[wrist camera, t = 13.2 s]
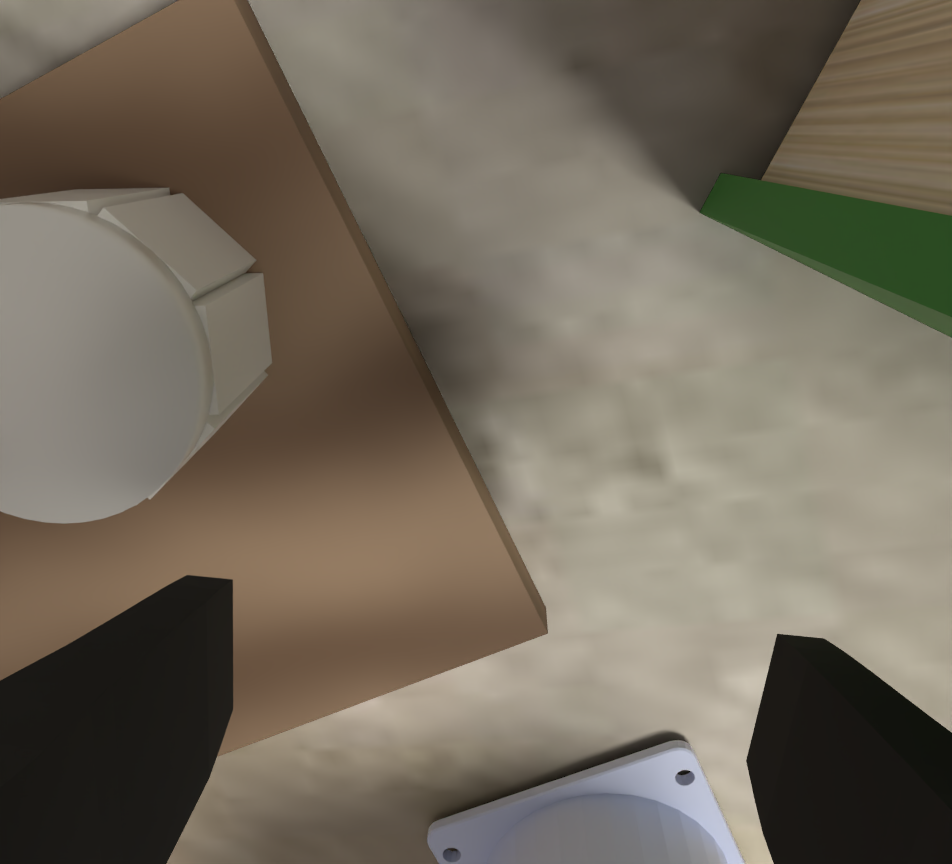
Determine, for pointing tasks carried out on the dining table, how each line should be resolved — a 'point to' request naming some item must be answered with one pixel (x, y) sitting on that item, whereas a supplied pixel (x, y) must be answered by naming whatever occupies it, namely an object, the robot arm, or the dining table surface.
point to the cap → (117, 346)
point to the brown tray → (267, 404)
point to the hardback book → (866, 165)
